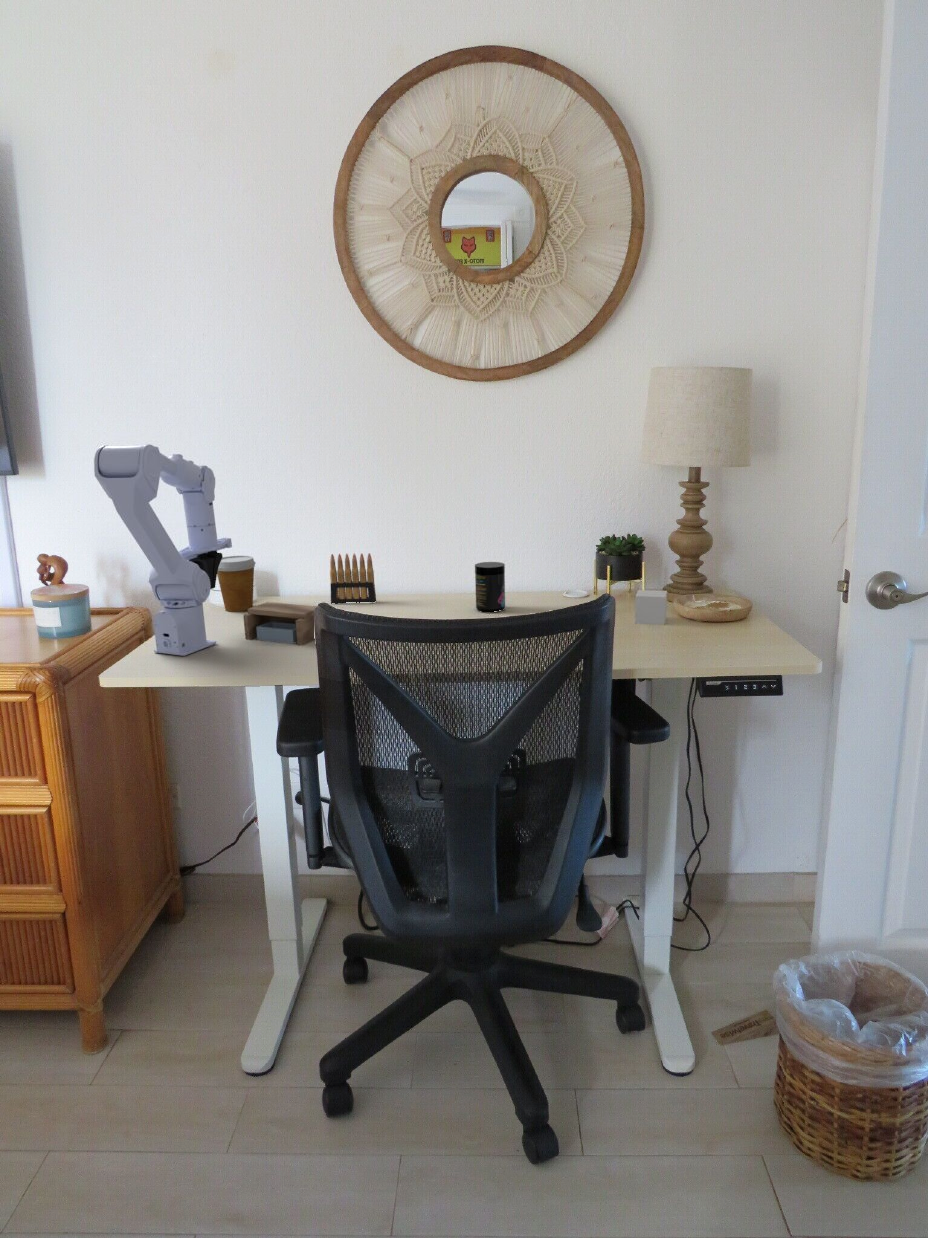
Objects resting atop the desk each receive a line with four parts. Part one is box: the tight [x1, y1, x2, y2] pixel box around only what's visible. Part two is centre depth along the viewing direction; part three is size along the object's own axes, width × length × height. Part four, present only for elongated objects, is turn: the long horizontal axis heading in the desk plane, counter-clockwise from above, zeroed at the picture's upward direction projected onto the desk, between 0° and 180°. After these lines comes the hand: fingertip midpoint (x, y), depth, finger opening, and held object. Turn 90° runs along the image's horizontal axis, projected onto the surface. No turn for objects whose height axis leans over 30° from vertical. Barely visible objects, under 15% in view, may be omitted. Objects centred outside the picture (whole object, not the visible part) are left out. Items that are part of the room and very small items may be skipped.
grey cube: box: [634, 589, 668, 626], centre depth 181 cm, size 6×6×6 cm
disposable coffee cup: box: [217, 555, 256, 613], centre depth 202 cm, size 10×10×12 cm
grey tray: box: [256, 621, 297, 644], centre depth 176 cm, size 5×9×3 cm, turn 65°
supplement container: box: [474, 561, 506, 613], centre depth 194 cm, size 7×7×10 cm
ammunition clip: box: [329, 553, 377, 605], centre depth 204 cm, size 11×2×12 cm, turn 88°
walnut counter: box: [242, 601, 316, 646], centre depth 177 cm, size 8×14×6 cm, turn 65°
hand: (209, 588), depth 181 cm, fingers closed
